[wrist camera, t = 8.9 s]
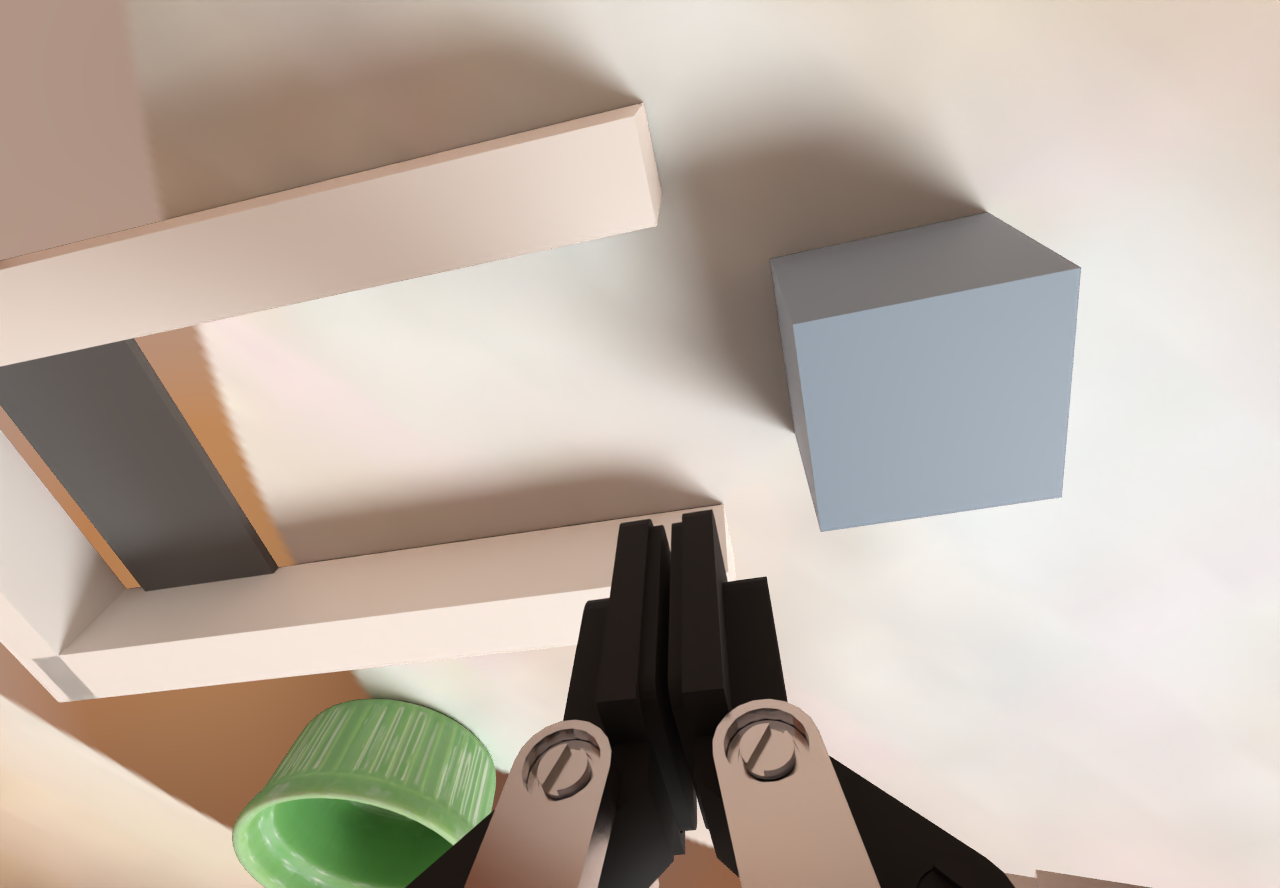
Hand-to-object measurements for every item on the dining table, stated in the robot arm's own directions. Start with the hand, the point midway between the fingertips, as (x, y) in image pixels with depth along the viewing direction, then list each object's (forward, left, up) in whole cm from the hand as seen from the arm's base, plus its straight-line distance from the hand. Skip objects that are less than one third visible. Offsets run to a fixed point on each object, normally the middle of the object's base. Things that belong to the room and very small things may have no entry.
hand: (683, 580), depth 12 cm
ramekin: (-14, +15, -8) cm, 22 cm away
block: (+1, -5, -8) cm, 9 cm away
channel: (+1, +11, -7) cm, 13 cm away
